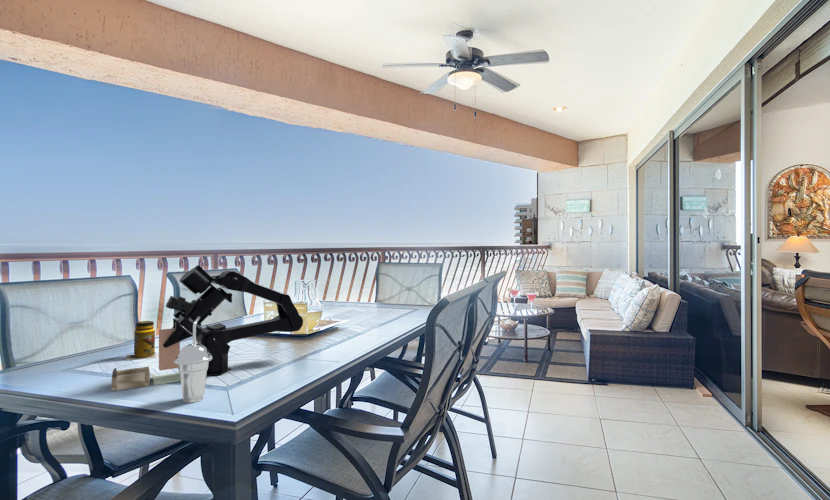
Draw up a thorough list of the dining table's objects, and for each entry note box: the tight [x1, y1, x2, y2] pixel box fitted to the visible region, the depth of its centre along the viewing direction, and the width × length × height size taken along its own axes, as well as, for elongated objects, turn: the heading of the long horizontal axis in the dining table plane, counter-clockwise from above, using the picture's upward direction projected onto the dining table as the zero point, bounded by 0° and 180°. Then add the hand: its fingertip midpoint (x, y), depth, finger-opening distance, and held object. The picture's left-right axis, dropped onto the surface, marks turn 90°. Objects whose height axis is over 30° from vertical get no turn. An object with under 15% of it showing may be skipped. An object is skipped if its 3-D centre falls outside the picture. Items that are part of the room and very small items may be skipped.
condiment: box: [125, 320, 157, 361], centre depth 145 cm, size 7×8×12 cm
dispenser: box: [111, 366, 151, 392], centre depth 115 cm, size 8×7×4 cm
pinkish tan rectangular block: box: [158, 327, 181, 371], centre depth 120 cm, size 5×3×11 cm, turn 125°
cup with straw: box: [174, 316, 213, 404], centre depth 105 cm, size 8×9×20 cm
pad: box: [152, 372, 181, 386], centre depth 120 cm, size 8×8×1 cm
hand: (163, 345), depth 120 cm, fingers closed on pinkish tan rectangular block, 3 cm apart
